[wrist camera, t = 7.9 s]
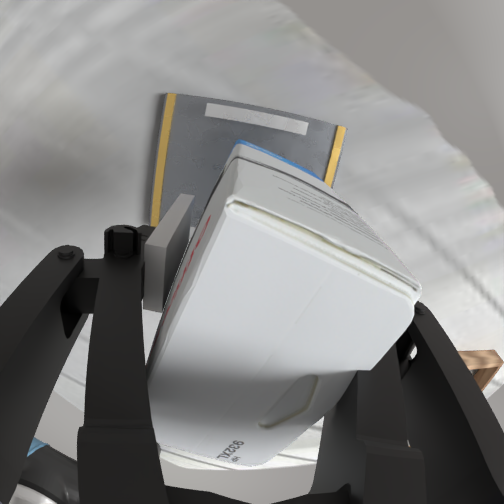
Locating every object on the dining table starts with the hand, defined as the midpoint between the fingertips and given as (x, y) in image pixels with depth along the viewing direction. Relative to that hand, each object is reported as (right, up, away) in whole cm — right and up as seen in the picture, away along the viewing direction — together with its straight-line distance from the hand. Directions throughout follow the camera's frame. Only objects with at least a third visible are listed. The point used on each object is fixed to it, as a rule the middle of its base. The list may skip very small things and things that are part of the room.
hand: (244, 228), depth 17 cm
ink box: (0, 0, +1) cm, 1 cm away
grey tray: (0, +7, +14) cm, 16 cm away
